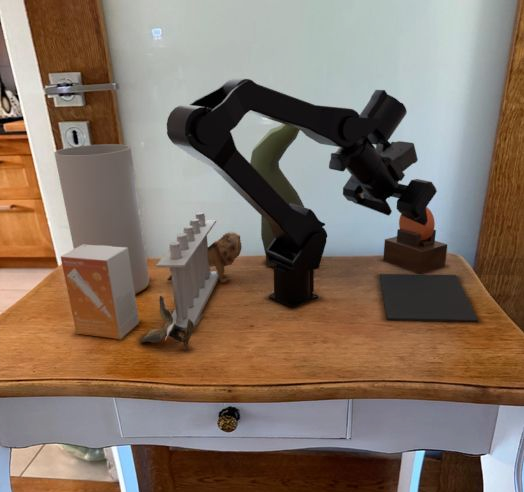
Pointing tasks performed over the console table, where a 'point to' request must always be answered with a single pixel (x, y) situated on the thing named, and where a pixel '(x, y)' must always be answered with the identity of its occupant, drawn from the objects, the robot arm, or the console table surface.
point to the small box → (101, 290)
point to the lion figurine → (223, 253)
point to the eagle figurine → (171, 328)
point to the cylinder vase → (104, 201)
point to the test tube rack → (190, 270)
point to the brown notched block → (415, 251)
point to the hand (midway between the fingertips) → (407, 218)
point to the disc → (419, 225)
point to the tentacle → (274, 172)
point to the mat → (425, 298)
